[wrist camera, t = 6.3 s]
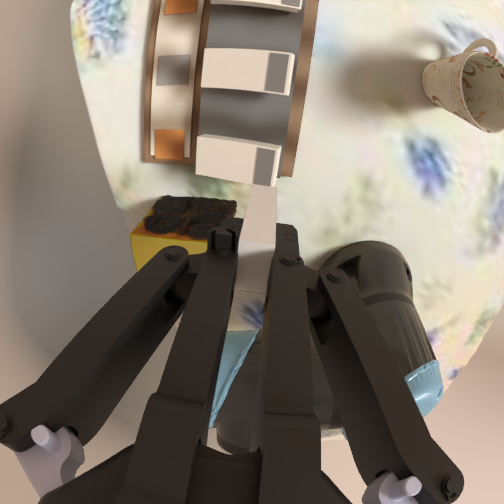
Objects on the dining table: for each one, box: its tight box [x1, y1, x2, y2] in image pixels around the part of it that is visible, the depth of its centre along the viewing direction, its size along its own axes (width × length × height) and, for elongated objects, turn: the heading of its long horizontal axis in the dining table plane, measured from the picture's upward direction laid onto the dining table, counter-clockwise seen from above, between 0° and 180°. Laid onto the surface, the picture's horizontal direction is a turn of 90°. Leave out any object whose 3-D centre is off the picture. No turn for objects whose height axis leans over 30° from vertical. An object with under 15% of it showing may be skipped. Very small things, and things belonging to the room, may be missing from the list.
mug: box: [422, 38, 504, 133], centre depth 17 cm, size 8×13×10 cm, turn 159°
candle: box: [130, 195, 237, 272], centre depth 33 cm, size 10×10×10 cm
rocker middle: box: [201, 48, 295, 95], centre depth 21 cm, size 4×8×2 cm, turn 83°
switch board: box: [144, 0, 319, 178], centre depth 24 cm, size 23×18×4 cm
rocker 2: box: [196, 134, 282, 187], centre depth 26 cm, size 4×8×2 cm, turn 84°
